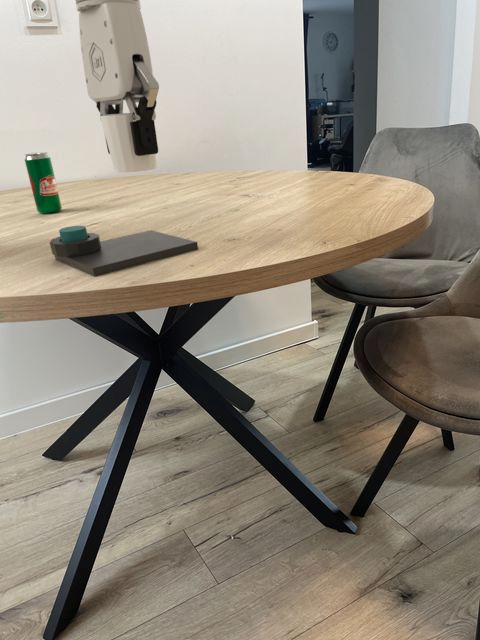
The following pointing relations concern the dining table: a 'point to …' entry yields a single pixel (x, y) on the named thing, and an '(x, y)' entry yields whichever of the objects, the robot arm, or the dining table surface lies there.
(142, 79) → the robot arm
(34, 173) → the soda can
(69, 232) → the button
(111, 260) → the scale
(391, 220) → the dining table surface
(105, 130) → the white cup
